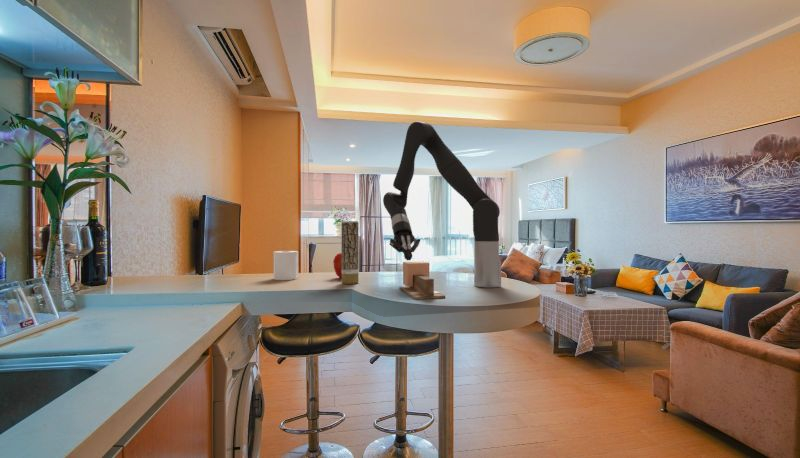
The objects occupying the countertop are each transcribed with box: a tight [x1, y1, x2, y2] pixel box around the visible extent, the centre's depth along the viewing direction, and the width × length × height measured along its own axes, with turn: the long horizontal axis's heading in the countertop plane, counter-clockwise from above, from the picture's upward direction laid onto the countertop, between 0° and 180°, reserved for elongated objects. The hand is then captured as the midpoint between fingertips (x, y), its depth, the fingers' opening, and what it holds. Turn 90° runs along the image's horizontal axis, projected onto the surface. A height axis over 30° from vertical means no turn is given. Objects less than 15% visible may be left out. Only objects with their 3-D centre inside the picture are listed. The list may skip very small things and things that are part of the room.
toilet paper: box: [273, 250, 299, 281], centre depth 155 cm, size 10×10×12 cm
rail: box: [399, 275, 446, 300], centre depth 120 cm, size 10×20×6 cm, turn 14°
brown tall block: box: [341, 220, 360, 285], centre depth 142 cm, size 7×7×25 cm
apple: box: [332, 252, 342, 279], centre depth 157 cm, size 9×9×12 cm
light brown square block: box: [402, 260, 430, 287], centre depth 125 cm, size 8×6×8 cm
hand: (409, 258), depth 134 cm, fingers closed
